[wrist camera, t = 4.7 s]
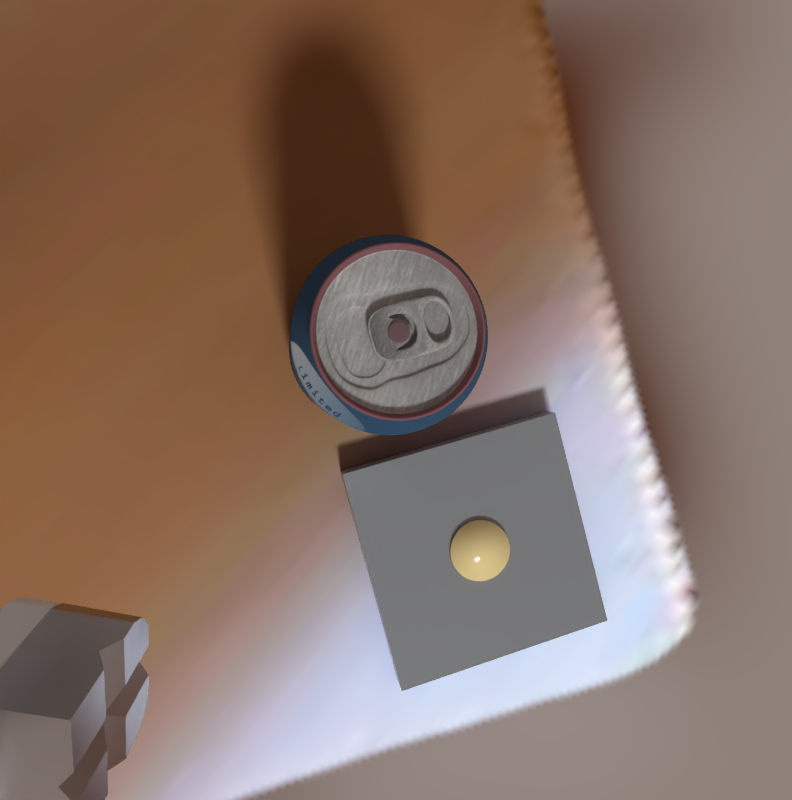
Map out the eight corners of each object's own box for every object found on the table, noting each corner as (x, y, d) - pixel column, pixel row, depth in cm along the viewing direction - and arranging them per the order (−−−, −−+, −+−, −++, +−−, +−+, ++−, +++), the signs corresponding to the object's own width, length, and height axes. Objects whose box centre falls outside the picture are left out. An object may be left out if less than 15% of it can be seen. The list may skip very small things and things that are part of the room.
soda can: (311, 437, 33) (324, 466, 21) (272, 299, 33) (263, 251, 21) (444, 399, 34) (527, 406, 22) (408, 265, 34) (473, 200, 22)
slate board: (340, 471, 33) (342, 474, 32) (545, 411, 35) (556, 412, 34) (397, 680, 34) (402, 692, 33) (596, 612, 36) (609, 621, 34)
